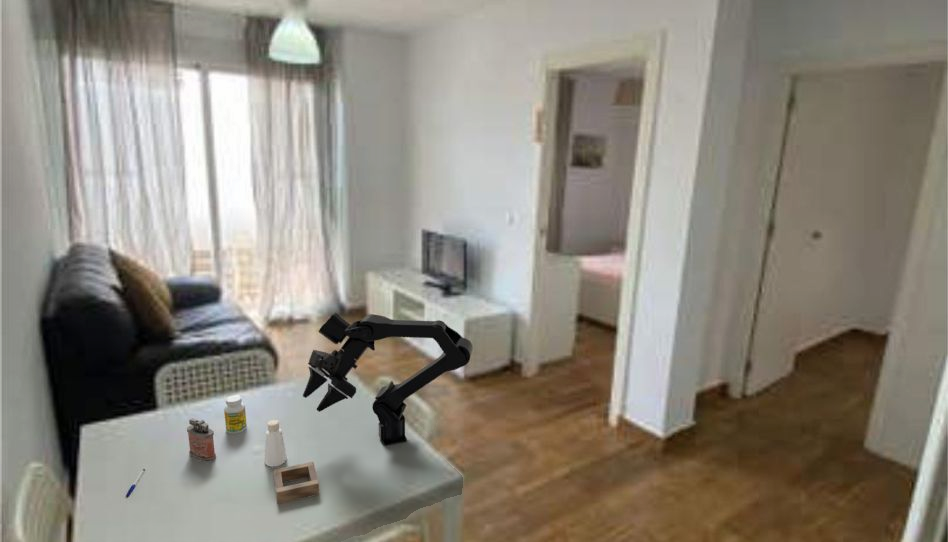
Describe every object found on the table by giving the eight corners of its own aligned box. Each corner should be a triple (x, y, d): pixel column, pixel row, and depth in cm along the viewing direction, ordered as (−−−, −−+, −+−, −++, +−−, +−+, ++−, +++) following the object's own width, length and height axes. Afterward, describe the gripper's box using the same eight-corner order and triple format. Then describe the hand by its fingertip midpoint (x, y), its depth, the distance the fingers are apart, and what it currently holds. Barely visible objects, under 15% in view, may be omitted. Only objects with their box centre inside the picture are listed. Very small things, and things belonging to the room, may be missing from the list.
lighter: (219, 456, 136) (216, 421, 134) (208, 463, 133) (204, 428, 131) (197, 448, 140) (194, 414, 137) (186, 455, 137) (182, 420, 134)
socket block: (313, 472, 131) (313, 461, 131) (319, 494, 123) (318, 483, 122) (274, 480, 128) (273, 469, 127) (277, 504, 119) (276, 492, 119)
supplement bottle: (244, 422, 153) (242, 392, 151) (248, 431, 149) (246, 400, 146) (224, 427, 150) (221, 396, 148) (227, 436, 146) (225, 404, 144)
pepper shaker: (264, 469, 132) (262, 429, 129) (263, 457, 137) (261, 419, 134) (287, 464, 134) (285, 425, 131) (285, 453, 139) (283, 415, 136)
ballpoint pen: (129, 497, 120) (129, 493, 120) (125, 498, 120) (124, 494, 120) (145, 470, 130) (145, 467, 130) (141, 471, 130) (141, 467, 130)
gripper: (313, 328, 144) (275, 376, 140) (343, 350, 130) (301, 403, 126) (341, 349, 150) (305, 395, 146) (373, 372, 136) (334, 423, 132)
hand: (310, 403), depth 137 cm, fingers open, 9 cm apart
